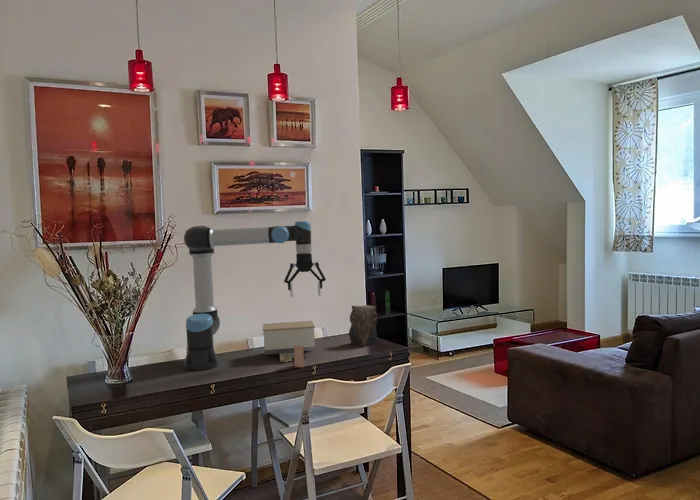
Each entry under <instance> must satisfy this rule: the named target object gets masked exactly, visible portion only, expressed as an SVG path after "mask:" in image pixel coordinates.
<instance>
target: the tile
mask: <svg viewBox="0 0 700 500" xmlns="http://www.w3.org/2000/svg"><path fill="white" fill-rule="evenodd" d="M279 361H280V363H281V362H285V363H289V362H288V361H292V362H293V359H291V355H284V356H280V355H279Z"/></svg>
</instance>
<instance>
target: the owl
mask: <svg viewBox="0 0 700 500" xmlns="http://www.w3.org/2000/svg"><path fill="white" fill-rule="evenodd" d="M349 322H350V324H351V325H350V327H349V331H348V336H349V337H348V338H349V339H350V340H349V341H350V344H351V345H353V344H354V345H353V346H357V345H358V346H357V347H360V346H362V348H366V347H369V346H373V345H374V344H376V340H377V338H378V332H377V327H376V326H377V322H378V313H377V305H370V304H365V305H352V306H351V312H350V314H349ZM365 346H366V347H365Z"/></svg>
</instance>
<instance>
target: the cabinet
mask: <svg viewBox="0 0 700 500" xmlns="http://www.w3.org/2000/svg"><path fill="white" fill-rule="evenodd" d="M315 326H316V325H315V324H314V322H313V321H312V320H304V321H303V320H302V321H300V320H299V321H288V322H287V321H286V322H271V323H262V332H263V347H264V348H263V351H264V355H278V354H279V355H280V353H289V352H294V346H300V345H303V353H305V352H304V351H308V352H313V351H314V350H313V349H314V347H316V345H315V343H316V342H315V328H316V327H315Z"/></svg>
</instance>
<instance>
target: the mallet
mask: <svg viewBox="0 0 700 500" xmlns="http://www.w3.org/2000/svg"><path fill="white" fill-rule="evenodd" d="M304 353H305V352H303V345H300V346H294V352H289V353H280V354H279V357H280V356H284V355H291V359H292V358H294V359H292V360H294V363H293V364H294V368H295V367H299V368H304V367H305V359H304V356H305V355H304ZM303 366H304V367H303Z"/></svg>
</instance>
